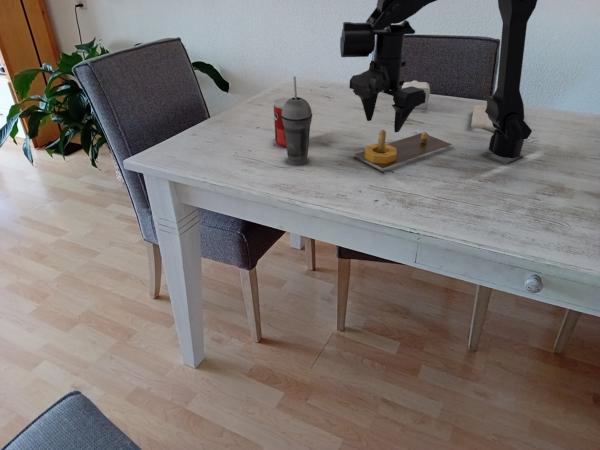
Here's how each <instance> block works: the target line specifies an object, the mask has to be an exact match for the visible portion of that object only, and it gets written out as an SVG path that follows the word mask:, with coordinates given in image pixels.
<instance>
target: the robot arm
mask: <svg viewBox="0 0 600 450" xmlns="http://www.w3.org/2000/svg"><path fill="white" fill-rule="evenodd" d="M437 1H438V0H377V3H376V7H375V8H374V9H373V11H372V13H371V14H370V15H369V17H368V18H367V20H366V21H365V22H351V21H344V22H342V29H341V36H340V38H339V50H340V57H341V58H368V57H369V56H370V54H371V55H372V54H373V52H374V51H375V54H374V60H370V62H369V67H368V69H367V70H365V71H363V72H361V73H358V74H353V75H352V76H351V78H350V79H349V87H348V88H349V89H350V90H352V92H353V93H354V95H355V96H358V98H359V99H360V101H361V104H362V107H363V110H364V115H365V119H366V121H367V122H371V121H372V120H373V117H374V113H375V108H376V105H377V101H378V96H379V94H380V93H383V94H385V95H388V96H391V97H392V101H393V104H391V107H392V108H393V109H394V125H393V129H394V131H393V132H394V133H399V132H400V131H401V129H402V128H403V126H404V125H405V122H406V121H407V119H408V118H409V116H410V115H411V113H412V112H413V111H414V110H415V109H414V108H415V107H416V106H419V105H420V104H423V103H425V98H426V93H425V91H424V90H423V89H419V88H416V87H413V86H410V87H406V88H402V85H403V84H404V83H405V80H404V79H401V75H402V68H403V67H406V64H407V61H406V60H403V54H404V46H405V35H414V34H416V30H415V29H414V28H413V27H412V26H411V23H410V21H409V20H407V19H409V18H411V17H413V16H414V15H416V14H417V13H419V11H420V10H422V9H423V8H424V7H426V6H428V5H430V4H432V3H434V2H437ZM537 3H538V0H497V6H498V10H499V14H500V17H501V21H502V29H501V39H500V51H499V61H498V62H499V63H498V74H497V84H496V85H497V86H496V90H495V91H494V93H493V95H487V96H486V105H487V108H486V110H485V113H487V114H488V118H489V119H490V120H491V121H492V124H493V127H494V128H496V129H497V130H494V132H493V134H492V135H491V136H490V140H489V146H488V150H489V151H490V152H491V153H492V154H493V155H495V156H497V157H501V158H508V159H514V160H512V161H510V162H507V163H506V164H507V165H510V164H511V163H514V162H517V161H519V160H522V159H523V158H524V156H521V153H522V150H523V146H524V141H525V140H528V139H529V137H530V135H531V134H532V132H533V130H532V129H531V128H530V126H529V125H528V124H527V123H526V121H525V105H524V101H523V98H522V94H521V92H520V91H521V90H520V89H521V80H522V72H523V64H524V63H523V62H524V54H525V45H526V37H527V29H528V28H527V27H528V22H529V20H530V18H531V16H532V15H533V13H534V10H535V9H536V6H537ZM400 87H401V88H400ZM413 109H414V110H413ZM519 156H521V157H519ZM517 157H518V158H517ZM515 158H517V159H515Z"/></svg>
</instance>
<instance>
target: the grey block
mask: <svg viewBox="0 0 600 450" xmlns="http://www.w3.org/2000/svg"><path fill="white" fill-rule="evenodd" d="M410 86H413V87H416V88H419V89H423V90H424V91H425V93H426V98H425V103H423V104H420V105H419V106H416V107H415V108H414V109H413V111H414V110H417V109H421V110H425V111H428V107H429V101H430V96H431V88H430V84H429V83H428V81H427V82H426V81H418V80H416V79H415V80H412V81H404V84H403V85H402V86H401V89H402V88H406V87H410Z"/></svg>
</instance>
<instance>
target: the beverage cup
mask: <svg viewBox="0 0 600 450" xmlns="http://www.w3.org/2000/svg"><path fill="white" fill-rule="evenodd" d="M296 78H297V77H296V76H293V93H294V96H293V97H290V98H291V99H289V100H288V101H287V102H286V103H285V104H284V106H283V108H282V114H281V117H282V121H283V125H284V130H285V139H286V147H287V148H286V147H285V148H286V154H287V160H288V163H289V164H290V165H293V166H302V165H305V164H306V163H307V162H308V157H309V156H308V155H309V146H310V131H311V124H312V120H313V111H312V108H311V105H310V104H309V102H308V100H306V99H304V98H303V97H299V96H297V95H298V94H297V79H296Z"/></svg>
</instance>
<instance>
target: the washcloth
mask: <svg viewBox="0 0 600 450" xmlns="http://www.w3.org/2000/svg"><path fill="white" fill-rule="evenodd" d="M486 108H487V104H476V105H475V106H474V107H473V110H472V116H471V123H470V129H479V130H482V131H483V130H484V131H487V132H490V133H494V130H497V129H496V128H494V127H493V124H492V121H491V120H490V119H489V118H488V114H487V113H485V110H486Z"/></svg>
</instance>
